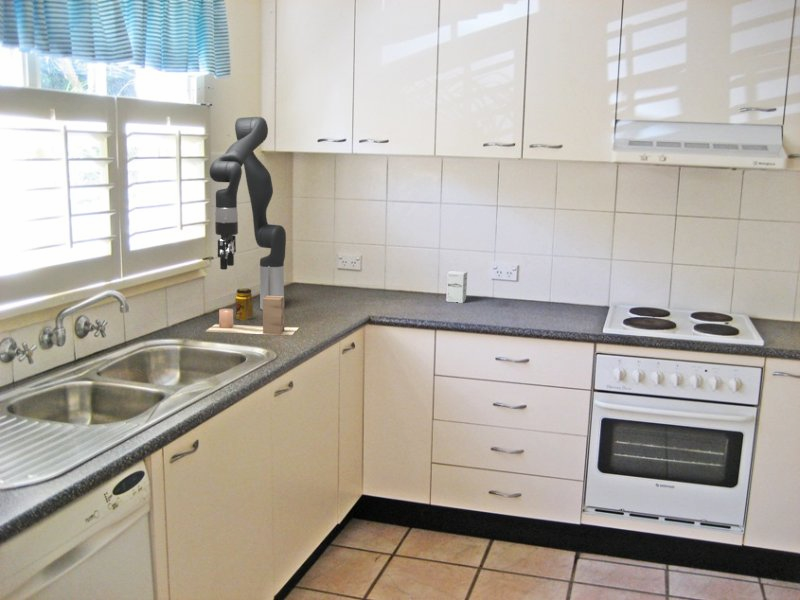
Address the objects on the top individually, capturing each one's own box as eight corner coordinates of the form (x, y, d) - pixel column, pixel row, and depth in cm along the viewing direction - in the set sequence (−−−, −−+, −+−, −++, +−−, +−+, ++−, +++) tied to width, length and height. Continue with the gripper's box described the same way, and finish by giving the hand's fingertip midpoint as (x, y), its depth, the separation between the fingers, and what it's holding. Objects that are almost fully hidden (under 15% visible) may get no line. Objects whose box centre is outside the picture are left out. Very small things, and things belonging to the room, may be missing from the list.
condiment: (231, 322, 307) (230, 289, 305) (244, 318, 315) (244, 286, 313) (247, 324, 304) (247, 291, 302) (260, 320, 312) (260, 288, 310)
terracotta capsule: (221, 324, 297) (221, 308, 296) (234, 325, 297) (234, 308, 296) (217, 327, 293) (217, 310, 292) (231, 328, 292) (231, 311, 291)
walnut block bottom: (267, 329, 292) (267, 312, 291) (284, 330, 291) (284, 313, 290) (263, 333, 286) (262, 316, 285) (280, 334, 285) (280, 316, 284)
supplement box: (445, 302, 356) (446, 272, 354) (449, 299, 363) (450, 270, 361) (462, 303, 354) (463, 273, 352) (466, 300, 361) (467, 271, 359)
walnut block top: (267, 312, 291) (267, 295, 289) (284, 313, 290) (284, 296, 289) (262, 316, 285) (262, 298, 284) (280, 316, 284) (280, 299, 283)
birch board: (215, 326, 299) (215, 324, 299) (298, 330, 296) (298, 327, 296) (204, 334, 287) (204, 331, 287) (291, 338, 285) (291, 335, 285)
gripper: (221, 218, 295) (222, 264, 298) (209, 222, 281) (210, 270, 284) (242, 219, 295) (243, 264, 298) (231, 222, 281) (232, 271, 284)
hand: (227, 267), depth 291 cm, fingers open, 8 cm apart
